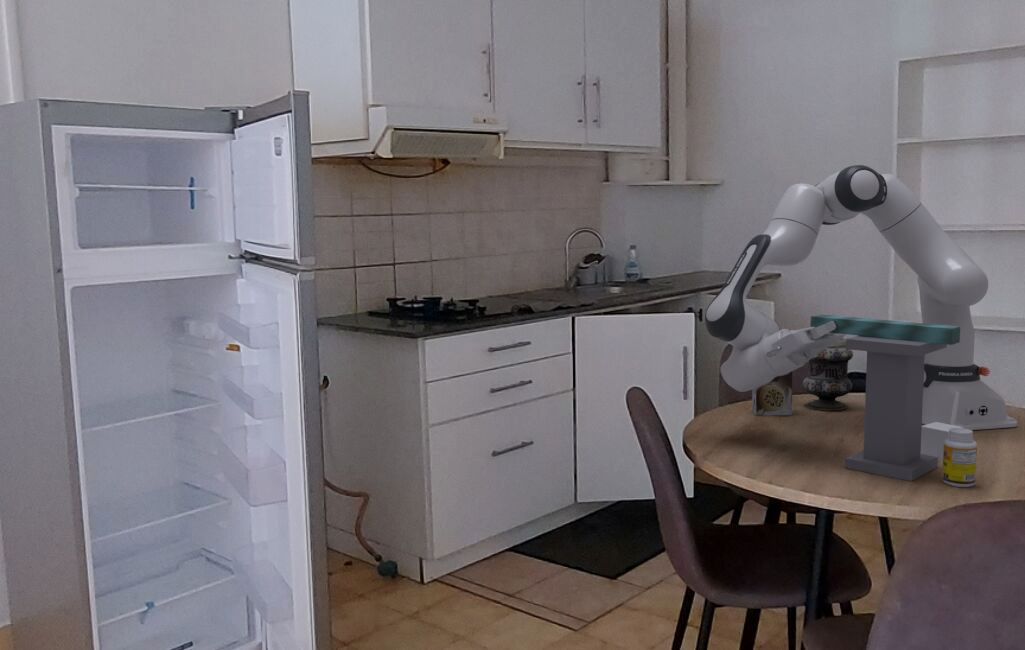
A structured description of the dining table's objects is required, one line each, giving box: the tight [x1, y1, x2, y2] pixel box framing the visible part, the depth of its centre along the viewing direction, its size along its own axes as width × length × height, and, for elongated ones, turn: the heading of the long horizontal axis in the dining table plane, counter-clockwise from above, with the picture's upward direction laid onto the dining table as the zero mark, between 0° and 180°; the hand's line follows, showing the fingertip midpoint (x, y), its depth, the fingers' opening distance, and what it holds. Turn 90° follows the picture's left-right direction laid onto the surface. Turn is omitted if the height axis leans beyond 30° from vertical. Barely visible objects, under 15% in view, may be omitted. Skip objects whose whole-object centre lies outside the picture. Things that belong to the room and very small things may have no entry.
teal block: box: [809, 314, 960, 345], centre depth 181 cm, size 28×4×3 cm, turn 45°
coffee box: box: [751, 371, 793, 417], centre depth 230 cm, size 9×6×16 cm
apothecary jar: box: [802, 337, 854, 412], centre depth 236 cm, size 12×12×18 cm
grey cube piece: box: [920, 422, 964, 460], centre depth 191 cm, size 6×6×6 cm
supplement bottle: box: [942, 428, 978, 488], centre depth 171 cm, size 6×6×10 cm
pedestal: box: [844, 335, 947, 482], centre depth 181 cm, size 14×14×26 cm
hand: (841, 322), depth 187 cm, fingers closed on teal block, 4 cm apart
